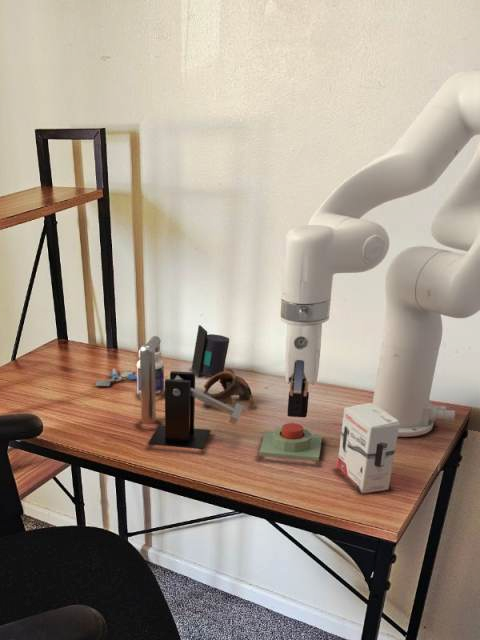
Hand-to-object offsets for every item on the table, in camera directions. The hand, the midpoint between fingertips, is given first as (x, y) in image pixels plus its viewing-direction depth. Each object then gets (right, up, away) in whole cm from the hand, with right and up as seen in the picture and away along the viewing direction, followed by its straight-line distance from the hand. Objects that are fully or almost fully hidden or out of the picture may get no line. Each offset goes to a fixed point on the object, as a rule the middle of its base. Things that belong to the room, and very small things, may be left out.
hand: (297, 414), depth 122 cm
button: (0, -3, +2) cm, 4 cm away
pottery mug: (-8, +5, +23) cm, 25 cm away
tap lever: (-16, +2, +4) cm, 16 cm away
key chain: (-30, +14, +40) cm, 51 cm away
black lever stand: (-19, -4, +9) cm, 22 cm away
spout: (-24, +1, +18) cm, 30 cm away
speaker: (-9, +15, +39) cm, 43 cm away
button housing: (0, -6, +3) cm, 7 cm away
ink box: (+9, -12, -6) cm, 16 cm away
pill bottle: (-23, +8, +29) cm, 38 cm away
